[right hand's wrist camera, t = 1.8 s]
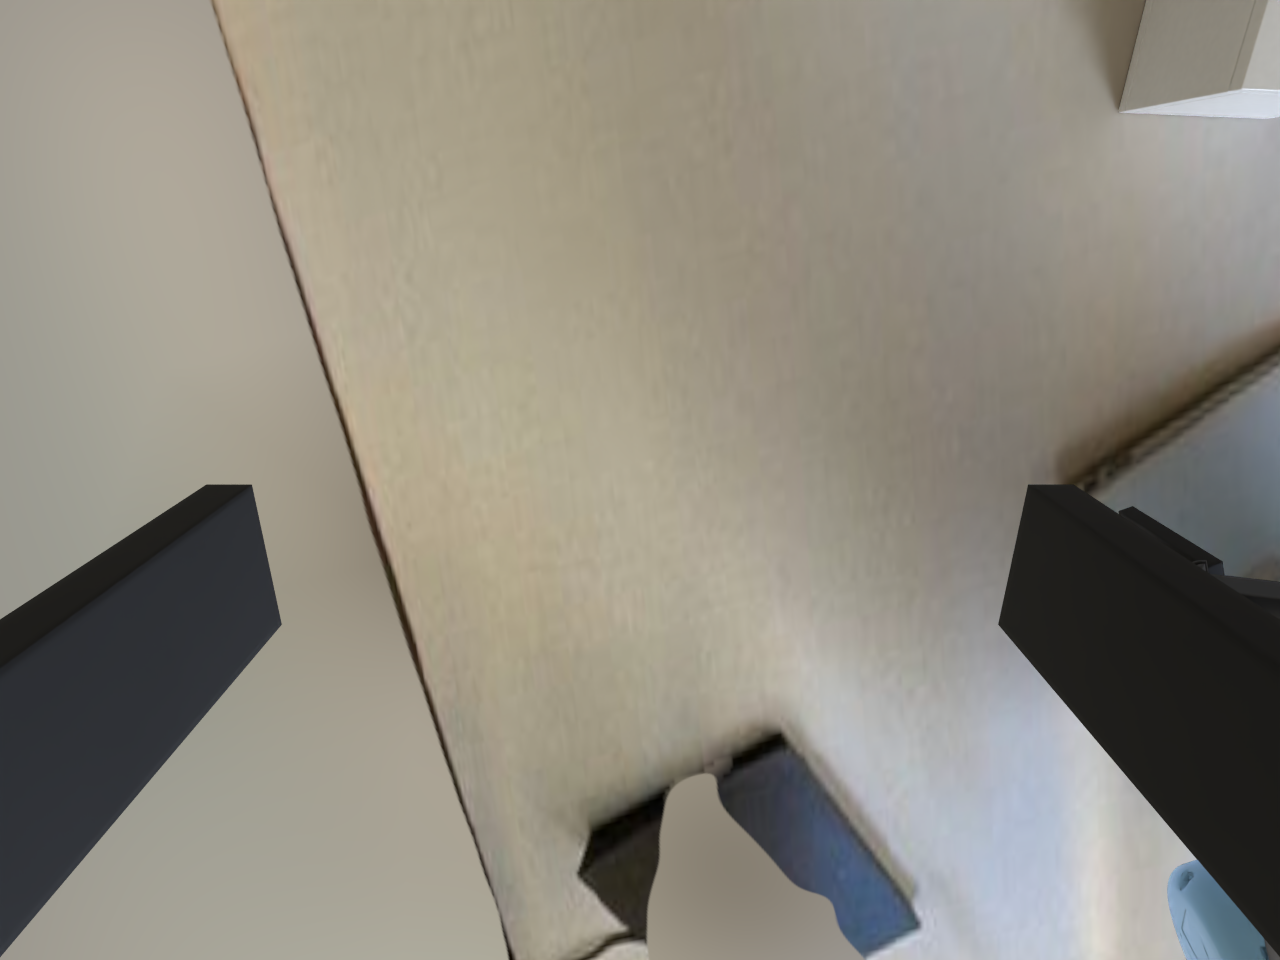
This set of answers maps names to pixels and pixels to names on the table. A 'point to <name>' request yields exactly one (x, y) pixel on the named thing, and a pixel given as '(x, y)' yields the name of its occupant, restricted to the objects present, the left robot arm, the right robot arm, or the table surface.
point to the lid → (1260, 52)
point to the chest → (1192, 61)
